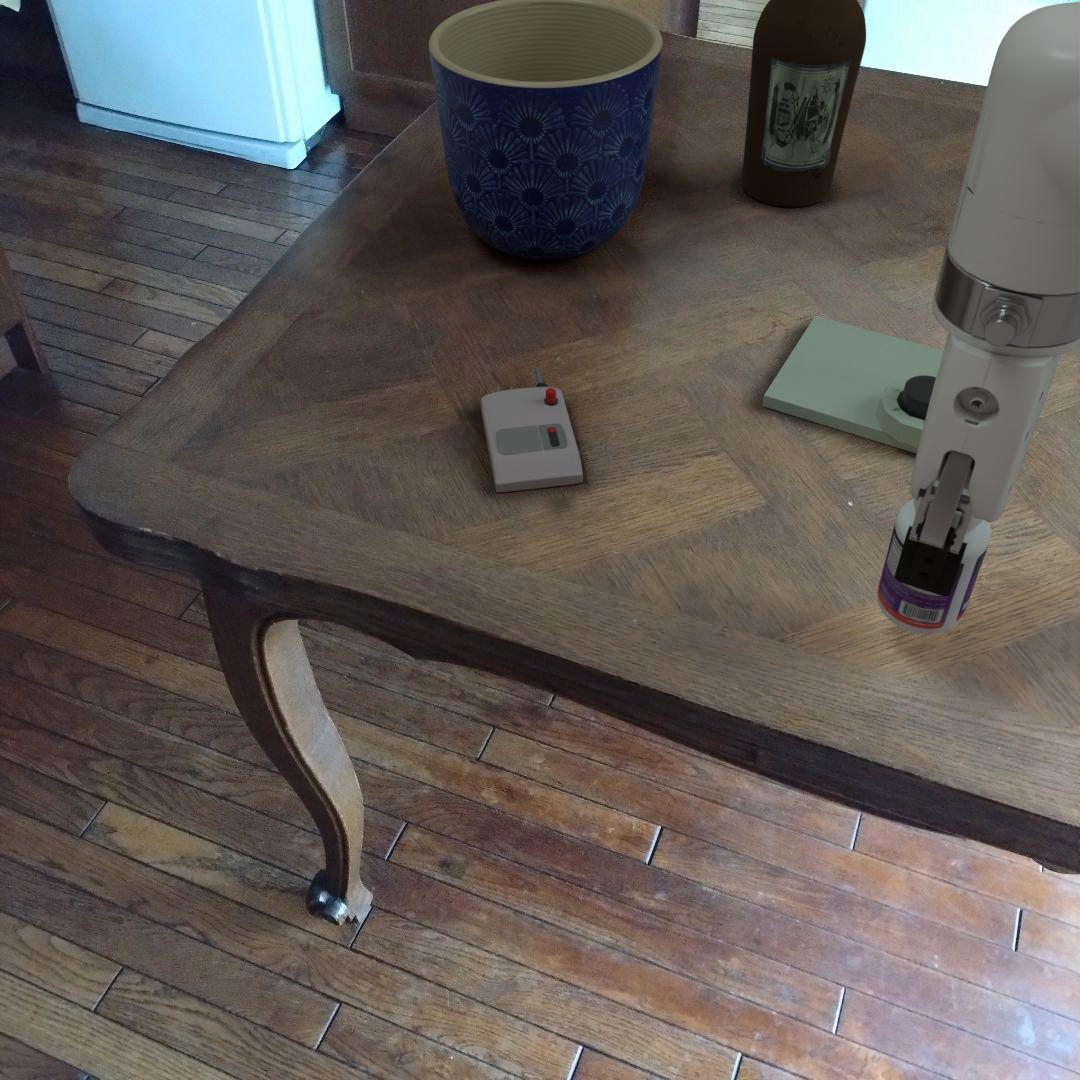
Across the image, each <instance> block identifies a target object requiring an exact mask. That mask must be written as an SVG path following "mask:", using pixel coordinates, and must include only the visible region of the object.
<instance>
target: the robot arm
mask: <svg viewBox="0 0 1080 1080" xmlns="http://www.w3.org/2000/svg"><path fill="white" fill-rule="evenodd" d="M969 152H970V153H969V156H968V160H967V164H966V168H965V172H964V176H963V180H962V184H961V188H960V193H959V197H958V201H957V204H956V209H955V213H954V217H953V221H952V224H951V227H950V231H949V235H948V239H947V242H946V247H945V249H944V250H945V251H944V255H943V259H942V263H941V266H940V269H939V270H940V271H939V274H938V278H937V283H936V286H935V291H934V293H933V297H932V301H931V302H932V303H931V309H932V313H933V316H934V318H935V320H936V321H937V322H938V324H939V325H940V326H941V327H942V328H943V329H944V330H945V331H946V332H947V333H948V334H947V337H946V341H945V345H944V348H943V350H944V351H943V355H942V358H941V362H940V365H939V369H938V373H937V376H936V380H935V384H934V387H933V391H932V395H931V399H930V403H929V407H928V411H927V415H926V419H925V423H924V426H923V430H922V435H921V439H920V443H919V447H918V451H917V454H916V456H915V461H914V466H913V470H912V474H911V480H910V484H909V493H910V495H911V496H912V499H913V498H914V499H915V500H916V501H918V499H919V498H921V501H920V504H919V507H918V510H917V513H916V517H915V520H914V523H913V526H909V529H908V531H907V534H906V538H905V541H904V545H903V548H902V552H901V555H900V559H899V562H898V566H897V569H896V573H895V579H896V580H897V581H899V582H901V583H904V584H907V585H910V586H913V587H916V588H919V589H922V590H925V591H929V592H932V593H935V594H938V595H941V596H948V595H949V594H950V593H951V590H952V587H953V584H954V581H955V578H956V575H957V573H958V570H959V567H960V564H961V561H962V558H963V555H964V552H965V549H966V546H967V544H968V543H964V542H963V540H964V537H965V534H966V531H967V528H968V526H969V523H970V520H971V517H972V514H974V517H975V518H977V519H981V520H985V521H986V522H989V524H991V523H994V522H996V521H998V520H999V519H1000V518H1002V516H1003V514H1004V512H1005V510H1006V507H1007V504H1008V501H1009V498H1010V496H1011V494H1012V490H1013V488H1014V485H1015V483H1016V480H1017V478H1018V475H1019V472H1020V469H1021V467H1022V464H1023V462H1024V460H1025V456H1026V454H1027V451H1028V448H1029V445H1030V442H1031V440H1032V438H1033V435H1034V432H1035V430H1036V426H1037V424H1038V421H1039V419H1040V416H1041V413H1042V410H1043V408H1044V405H1045V403H1046V400H1047V397H1048V394H1049V392H1050V389H1051V385H1052V383H1053V381H1054V377H1055V374H1056V371H1057V367H1058V364H1059V361H1060V358H1061V355H1063V354H1066V353H1069V352H1072V351H1074V350H1076V349H1078V348H1079V347H1080V1H1072V2H1063V3H1057V4H1056V3H1055V4H1051V5H1046V6H1043V7H1038V8H1037V9H1034V10H1032V11H1030V12H1028V13H1026V14H1024V15H1023V16H1021V17H1020V18H1019V19H1017V20H1016V21H1015V22H1014V23H1013V24H1012V25H1011V26H1010V27H1009V29H1008V30H1007V31H1006V33H1005V34H1004V36H1003V38H1002V39H1001V41H1000V43H999V45H998V47H997V51H996V53H995V56H994V59H993V63H992V66H991V70H990V74H989V78H988V83H987V86H986V90H985V93H984V97H983V101H982V105H981V109H980V113H979V116H978V120H977V125H976V129H975V132H974V137H973V140H972V143H971V148H970V151H969ZM936 480H937V481H939V484H938V487H935V486H934V484H935V481H936ZM964 488H965V489H968V492H969V496H966V495H963V494H962V492H963V489H964ZM931 503H932V504H931ZM930 506H931V507H930ZM929 509H930V510H929ZM956 511H959V512H962V514H961V517H960V520H959V523H958V526H957V529H956V532H955V528H953V527H951V523H952V520H953V517H954V515H955V512H956Z"/></svg>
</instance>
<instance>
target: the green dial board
mask: <svg viewBox="0 0 1080 1080" xmlns="http://www.w3.org/2000/svg"><path fill="white" fill-rule="evenodd" d="M943 351H944V349H940V348H937V347H933V346H929V345H926V344H922V343H918V342H915V341H910V340H907V339H904V338H900V337H896V336H893V335H888V334H885V333H881V332H878V331H874V330H870V329H867V328H863V327H860V326H856V325H852V324H848V323H845V322H841V321H838V320H834V319H830V318H826V317H822V316H819V315H814V317H813V318H812V320H811V322H810V323H809V324H808V326H807V327H806V329H805V330H804V332H803V333H802V335H801V336H800V338H799V340H798V342H797V343H796V345H795V346H794V348H793V349H792V351H791V353H790V354H789V355H788V357H787V358H786V360H785V362H784V363H783V365H782V367H781V368H780V370H779V371H778V372H777V374H776V376H775V377H774V379H773V381H772V382H771V383H770V385H769V386H768V388H767V390H766V391H765V393H764V395H763V399H762V404H761V406H762V407H764V408H767V409H771V410H774V411H777V412H780V413H783V414H787V415H789V416H793V417H796V418H799V419H803V420H806V421H810V422H813V423H815V424H818V425H819V424H820V425H822V426H825V427H828V428H832V429H835V430H837V431H842V432H845V433H848V434H851V435H854V436H858V437H861V438H864V439H868V440H871V441H874V442H877V443H881V444H883V445H887V446H891V447H894V448H896V449H900V450H903V451H907V452H910V453H913V454H916V455H917V451H918V447H919V443H920V439H921V435H922V430H923V426H924V423H925V420H922V419H918V418H915V417H911V416H909V415H908V414H907V413H905V412H904V411H903V410H902V409H901V406H900V401H901V398H902V394H903V391H904V387H905V384H906V382H907V381H908V380H909V379H910V378H912V377H915V376H921V375H926V376H933V377H936V376H937V373H938V369H939V365H940V362H941V358H942V355H943Z"/></svg>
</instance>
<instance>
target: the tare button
mask: <svg viewBox="0 0 1080 1080" xmlns="http://www.w3.org/2000/svg"><path fill="white" fill-rule="evenodd" d="M935 380H936V377H933V376H926V375H921V376H915V377H912V378H910V379H909V380H908V381H907V382H906V384H905V387H904V391H903V394H902V398H901V401H900V406H901V409H902V410H903V411H904V412H905V413H907V414H908V415H909V416H911V417H915V418H918V419H922V420H925V419H926V415H927V411H928V407H929V403H930V399H931V395H932V391H933V387H934V384H935Z"/></svg>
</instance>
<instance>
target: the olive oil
mask: <svg viewBox="0 0 1080 1080" xmlns="http://www.w3.org/2000/svg"><path fill="white" fill-rule="evenodd" d="M862 8H863V7H862V6H861V4H860V3H859V0H768V2H767V3H766V5H765V6H764V7H763V9H762V11H761V13H760V15H759V18H758V20H757V22H756V25H755V29H754V32H753V39H752V50H751V64H750V65H751V66H750V76H749V77H750V78H749V79H750V80H749V93H748V104H747V116H746V129H745V139H744V140H745V141H744V148H743V149H744V150H743V157H742V159H743V160H742V169H741V179H740V183H741V187H742V190H743V191H744V192H745V194H746V195H748V196H749V197H751V199H754V200H756V201H758V202H759V203H763V204H766V205H770V206H775V207H781V208H802V207H808V206H811V205H815V204H817V203H820V202H821V201H823V200H824V199H825V198H826V197H828V195H829V193H830V192H831V188H832V185H833V180H834V174H835V172H836V167H837V166H836V165H837V162H838V159H839V158H838V157H839V153H840V148H841V145H842V140H843V135H844V131H845V127H846V125H847V119H848V116H849V111H850V109H851V103H852V99H853V96H854V93H855V88H856V84H857V80H858V77H859V73H860V69H861V66H862V65H861V64H862V60H863V57H864V53H865V49H866V44H867V24H866V17H865V13H864V11H863V9H862Z"/></svg>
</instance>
